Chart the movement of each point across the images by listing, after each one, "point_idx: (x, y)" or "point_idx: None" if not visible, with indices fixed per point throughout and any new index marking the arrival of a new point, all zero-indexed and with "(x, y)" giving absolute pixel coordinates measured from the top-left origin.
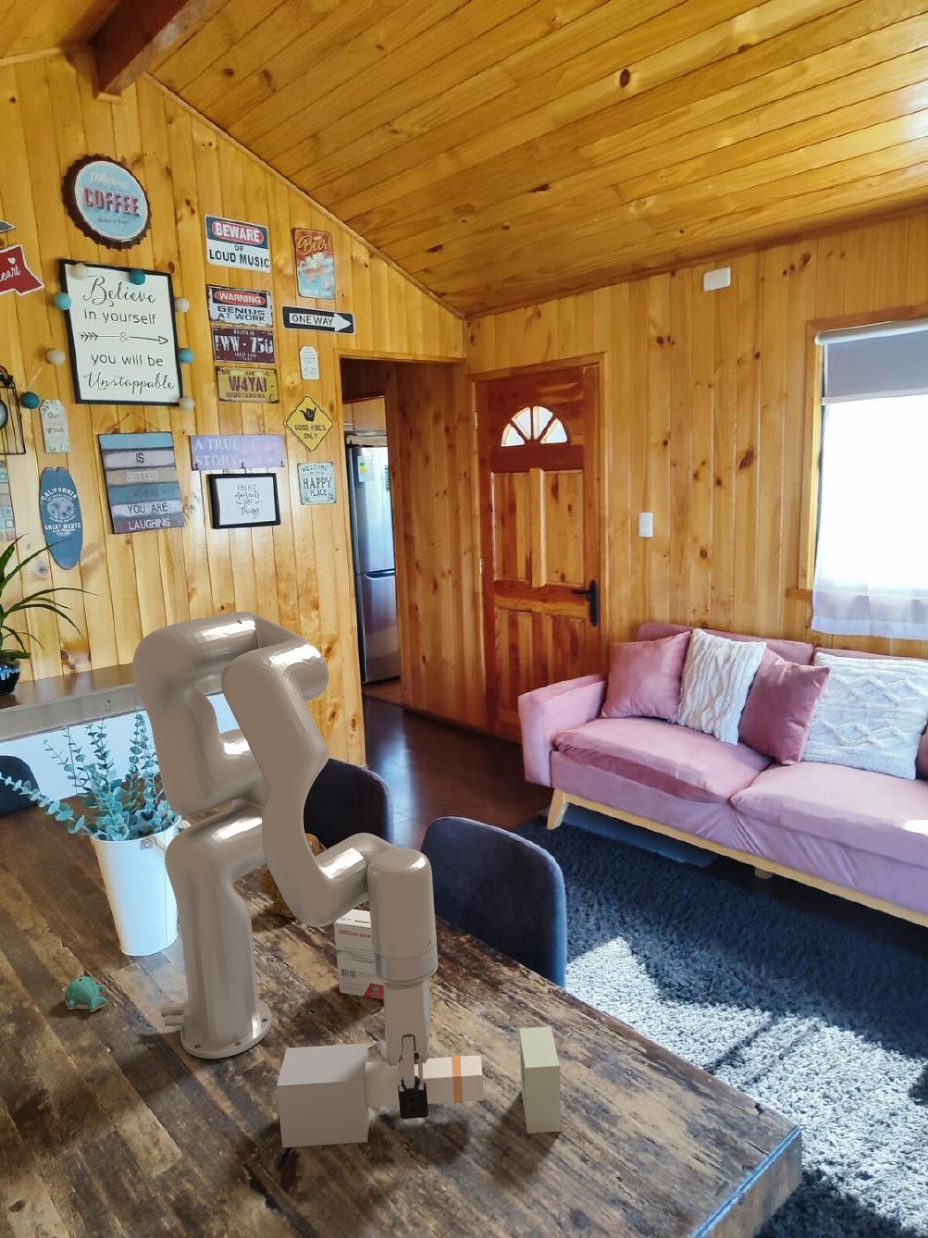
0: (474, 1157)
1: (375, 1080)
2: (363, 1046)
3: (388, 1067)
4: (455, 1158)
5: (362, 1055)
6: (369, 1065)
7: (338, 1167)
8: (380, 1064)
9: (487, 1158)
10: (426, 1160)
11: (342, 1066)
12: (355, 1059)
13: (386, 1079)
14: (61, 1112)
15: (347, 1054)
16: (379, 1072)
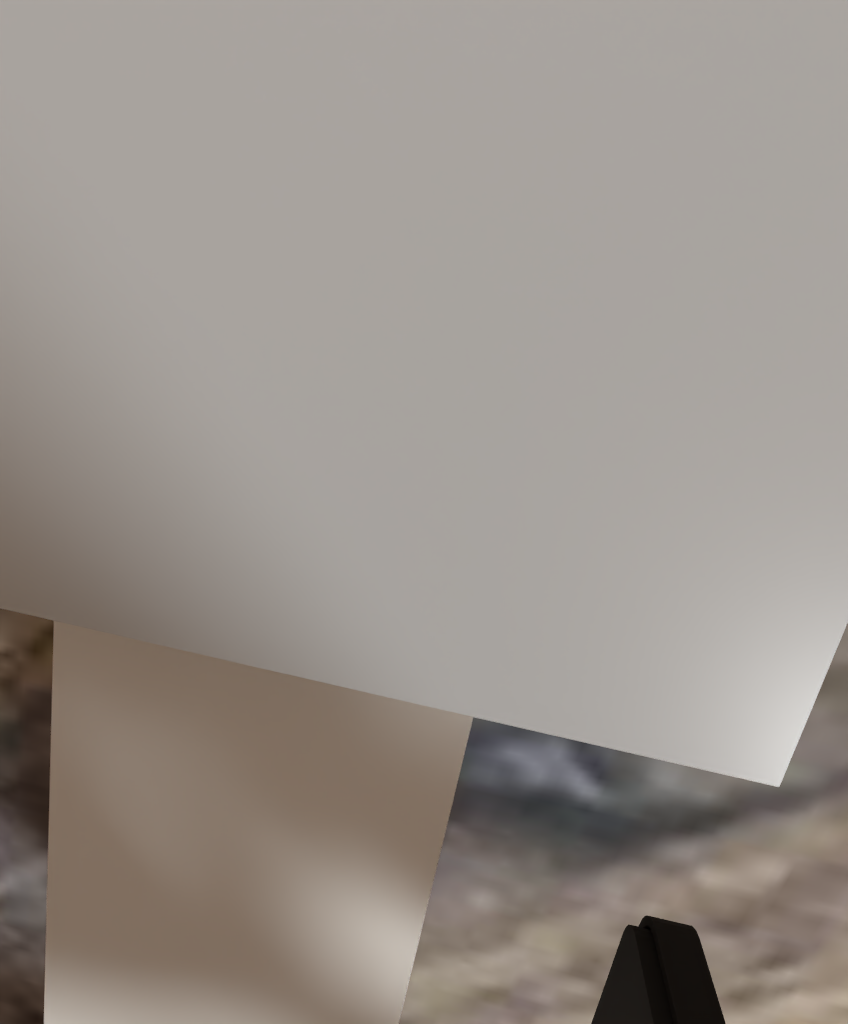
0: (23, 902)
1: (77, 658)
2: (704, 694)
3: (306, 857)
4: (26, 824)
5: (390, 627)
6: None
7: None
8: (387, 780)
9: (12, 949)
10: (27, 689)
11: (76, 82)
12: (278, 457)
13: (80, 791)
14: None
15: (542, 267)
16: (230, 735)
